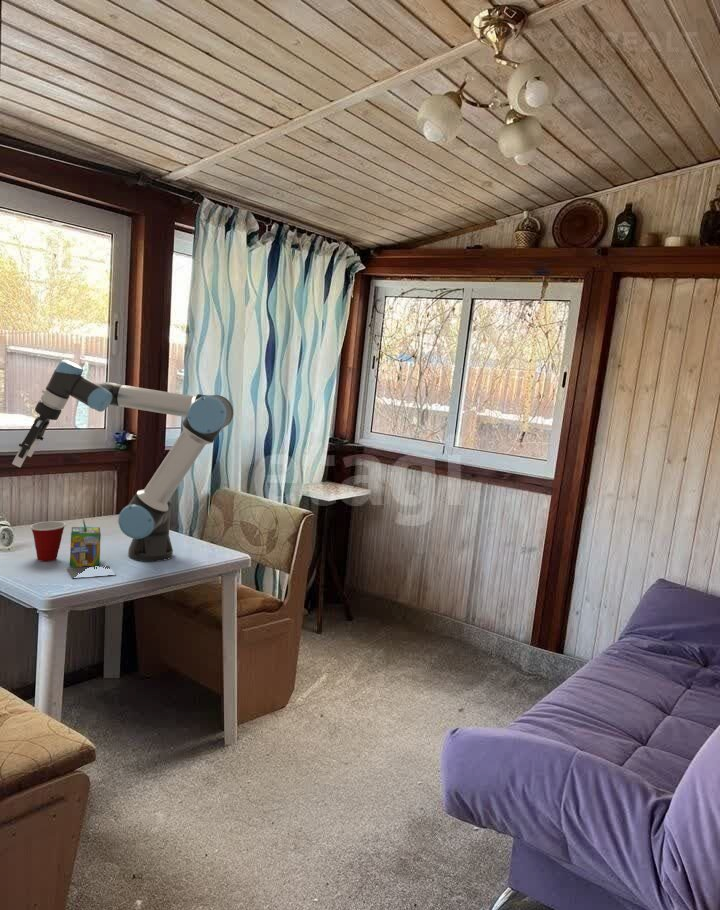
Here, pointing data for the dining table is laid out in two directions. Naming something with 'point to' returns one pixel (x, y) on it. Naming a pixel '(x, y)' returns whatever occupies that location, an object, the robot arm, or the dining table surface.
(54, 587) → the dining table surface
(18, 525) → the dining table surface
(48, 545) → the plastic cup
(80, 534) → the chalk box
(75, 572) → the mat
